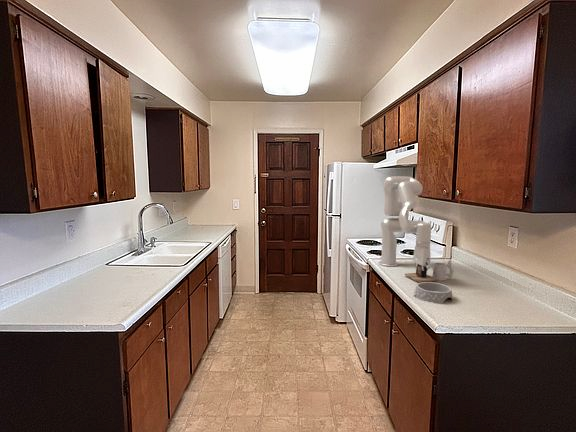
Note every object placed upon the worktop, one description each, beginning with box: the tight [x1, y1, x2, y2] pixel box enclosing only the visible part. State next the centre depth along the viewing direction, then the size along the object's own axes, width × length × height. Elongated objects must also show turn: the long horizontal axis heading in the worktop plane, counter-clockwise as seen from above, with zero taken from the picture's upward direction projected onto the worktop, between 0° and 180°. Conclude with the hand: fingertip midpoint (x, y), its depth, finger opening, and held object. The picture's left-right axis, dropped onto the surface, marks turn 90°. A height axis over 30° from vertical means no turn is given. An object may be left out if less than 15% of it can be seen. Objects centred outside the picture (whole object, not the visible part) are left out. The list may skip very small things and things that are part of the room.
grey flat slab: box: [404, 275, 440, 284], centre depth 195 cm, size 16×12×1 cm
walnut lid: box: [404, 265, 439, 283], centre depth 195 cm, size 14×12×7 cm
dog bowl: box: [413, 282, 454, 304], centre depth 170 cm, size 17×18×5 cm
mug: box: [431, 259, 454, 282], centre depth 196 cm, size 8×12×12 cm, turn 94°
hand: (421, 275), depth 195 cm, fingers closed on walnut lid, 4 cm apart
